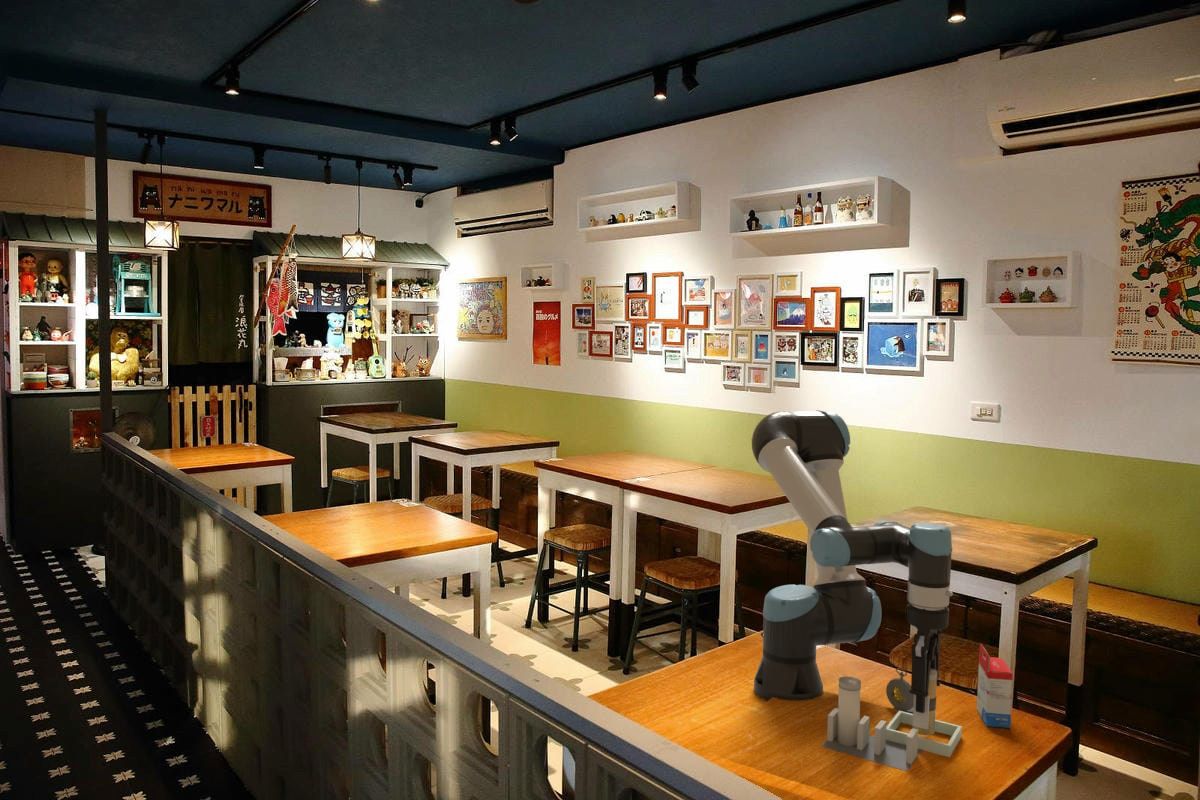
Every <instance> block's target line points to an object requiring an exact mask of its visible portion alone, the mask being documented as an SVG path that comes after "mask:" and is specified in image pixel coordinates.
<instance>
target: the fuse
mask: <svg viewBox="0 0 1200 800" xmlns="http://www.w3.org/2000/svg"><path fill="white" fill-rule="evenodd" d="M861 689H862V681H861V680H860V679H859V678H857V677H854V676H840V677H839V678H838V700H837V701H838V706H837V709H838V730H837V741H838V742H839V743H840V744H842V745H846V746H856V745H857V733H858V722H859V721H860V720H861V718H860V716H861V712H860V711H861Z"/></svg>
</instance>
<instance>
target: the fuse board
mask: <svg viewBox="0 0 1200 800" xmlns="http://www.w3.org/2000/svg"><path fill="white" fill-rule="evenodd" d="M886 727H887V720H883V719H881V720H880V721H879V722H878V723H877V725H876V726H875V727H874V735H870V716H867V715H864V716H863V717H862V718H860V720H859V722H858V733H857V745H856V746H846V745H842V744H840V743H839V742H838V741H837V730H838V707H836V708H835V707H834V708H833V709H832V710H831V711H830V712H829V713H828V714H827V733H826V734H827V736H826V738H827V739H826V740H825V742H823V744H822V745H821V747H822V748H826V749H828V750H833V751H836V752H840V753H843V754H845V755H849V756H852V757H853V756H854V757H857V758H860V759H862V760H867V761H870V762H874V763H875V764H876V763H877V764H880V765H883V766H887V767H890V768H894V769H897V770H901V771H904V772H908V771H909V770H910V769H911V767H912V765H913V764H914V762H915V761H916V760H917V758H918V757H919V755H920V754H921V752H922V751H923V750H922V749H918V748H917V746H918V736H919V733H918V730H917V729H914V728H913V727H912V728H911V730H910V731H909V733H908V735H907V743H906V745H904V744H900V743H896V742H893V741H889V740H886Z"/></svg>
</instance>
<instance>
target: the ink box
mask: <svg viewBox="0 0 1200 800" xmlns="http://www.w3.org/2000/svg"><path fill="white" fill-rule="evenodd" d="M977 671H978V672H977V673H978V675H977V698H976V699H977V700H976V701H977V702H976V710H977V712H978V713H979V715H980V717H981V719H982V721H983V723H984V724H985V726H986V727H995V728H1004V729H1005V728H1006V729H1011V728H1012V727H1011V726H1012V693H1013V674H1014V673H1013V671H1012V670H1011V669H1010V667H1009V666H1008V664H1007V663H1006V662H1005V661H1004V659H1003V658H1001V657H995V656H994V657H993V656H990V655H989V653H988V651H987V650H986V649H985V647H984V646H983V643H980V645H979V654H978V670H977Z"/></svg>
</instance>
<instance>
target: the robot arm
mask: <svg viewBox="0 0 1200 800" xmlns="http://www.w3.org/2000/svg"><path fill="white" fill-rule="evenodd" d="M850 445H851V436H850V431H849V428H848V425H847V424H846V422H845V420H844V419H843V418H842V417H841V416H840V415H838V414H837V413H836V412H833V411H827V410H826V411H825V410H821V409H820V410H818V409H817V410H803V411H801V410H800V411H786V410H785V411H775V412H772V413H770V414H768V415H766V416H764V417H763V418H762V419H760V421H759V422H758V423H757V424H756V426H755V428H754V431H753V433H752V436H751V449H752V454H753V456H754V459H755V460H756V463H757V464H758V465H759V467H760V468H761V469H762V470H763V471H765V472H767V473H770V475H771V476H772V477H773V479H774V481H775V482H776V484H777V485H778V486H779V488H780V489H781V491H782V492H783V494H784V495H785V497H786V498H787V500H788V502H789V503H790V504H791V505H792V507H793V509H794V510H795V511H796V513H797V514H798V516H799V518H800V519H801V521H802V522H803V523H804V525H805V526H806V528H807V529H808V530H809V532H810V533H811V537H810V539H809V550H810V552H811V555H812V558H813V560H814V561H815V563H816V569H817V579H816V580H815V581H814V582H813V584H812V585H813V586H810V585H806V584H797V585H796V584H784V585H780V586H776V587H774V588H772V589H771V590H769V591H768V592H767V593H766V594H765V597H764V601H763V610H762V616H763V619H762V622H763V623H762V626H763V627H762V631H763V632H762V656H761V660H760V663H759V665H758V667H757V670H756V673H755V676H754V679H753V691H754V690H755V691H754V693H755V692H756V693H755V694H756V696H758V695H759V696H760V697H759V696H758V697H759V698H760V699H762V698H763V700H764V699H765V701H766V700H767V701H766V702H769V701H771V699H772V698H774V699H778V700H783V701H798V702H799V701H809V700H813V699H815V698H818V697H821V695H822V694H823V693H824V684H823V681H822V678H821V677H822V676H821V673H820V670H819V667H818V663H817V659H816V658H817V646H823V645H824V646H826V645H828V646H829V645H837V644H846V643H850V644H851V643H853V644H854V643H859V642H862V641H868V640H870V639H872V638H874V636H875V635H876V634H877V632H878V631H879V630H878V629H879V628H880V626H881V622H882V615H883V614H882V611H883V610H882V604H881V600H880V597H879V596H878V595H877V592H876V591H875V590H874V589H873V588H870V587H868V586H867V583H866V579H865V578H864V577H863V576H862V575H861V574H859V573H858V572H857V567H856V566H858V565H860V566H861V565H874V564H875V565H876V564H889V563H896V564H899V565H902V566H904V567H907V568H908V576H907V580H908V581H907V597H906V598H907V601H908V603H907V607H906V609H907V610H906V621H907V623H908V624H909V625H911V626H912V627H914V628H916V629H917V631H916V633H914V635H913V643H914V644H911V647H910V649H911V676H910V677H911V680H910V681H911V682H910V683H911V684H910V685H911V690H909V692H910V693H911V694H914V707H913V726H916V727H920V728H924V729H928V725H929V699H930V695H928V688H929V676H930V668H933V669H935V670H937V687H940V686H941V681H938V679H939V678H940V655H941V654H940V653H941V638H942V630H945V629H947V628H948V627H949V623H950V622H949V621H950V620H949V619H950V608H949V607H948V606H949V604H950V597H952V596H953V594H954V592H953V591H951V590H950V587H951V571H952V570H951V568H952V553H953V545H952V542H953V541H952V531H951V529H950V528H949V527H948V526H946V525H944V524H940V523H939V524H937V523H934V522H917V523H913V524H912V525H911V526H910V527H908V526H906V525H903V524H902V523H899V522H895V521H888V520H880V521H878V522H876V523H875V524H873V525H868V526H867V525H866V526H852V525H851V523H850V522H849V521H848V517H847V510H846V505H845V499H844V491H843V488H842V482H841V477H840V469H841V468H842V466H843V465H844V462H845V461H844V457H846V456H847V455H848V453H849V452H850ZM913 726H912V727H913Z"/></svg>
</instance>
